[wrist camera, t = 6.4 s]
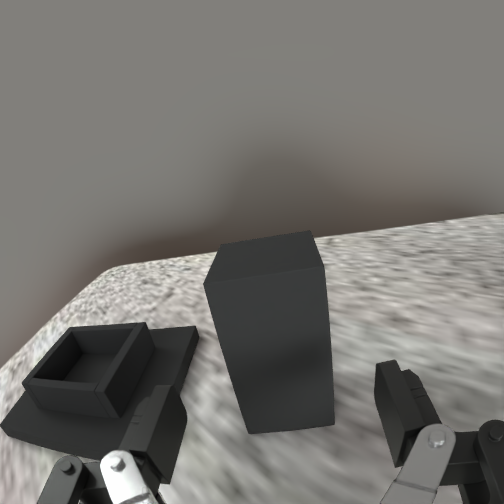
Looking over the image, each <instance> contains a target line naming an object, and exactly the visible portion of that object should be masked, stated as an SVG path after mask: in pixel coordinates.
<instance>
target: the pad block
mask: <svg viewBox="0 0 504 504" xmlns="http://www.w3.org/2000/svg"><path fill="white" fill-rule="evenodd" d="M203 285H204V289H205V293H206V296H207V300H208V304H209V307H210V311H211V314H212V318H213V321H214V325H215V328H216V332H217V335H218V339H219V342H220V346H221V349H222V352H223V356H224V359H225V362H226V366H227V369H228V372H229V375H230V379H231V382H232V385H233V388H234V391H235V394H236V398H237V401H238V404H239V407H240V410H241V413H242V416H243V419H244V422H245V425H246V428H247V431H248V434H255V433H269V432H280V431H290V430H299V429H307V428H314V427H321V426H328V425H334V424H335V420H334V390H333V369H332V352H331V337H330V323H329V311H328V300H327V289H326V278H325V269H324V265H323V262H322V259H321V257H320V254H319V251H318V249H317V246H316V244H315V241H314V238H313V236H312V233H311V231H304V232H297V233H291V234H284V235H278V236H272V237H265V238H259V239H252V240H246V241H240V242H233V243H228V244H222V245H221V246H220V248H219V250H218V252H217V254H216V256H215V259H214V261H213V263H212V265H211V267H210V270H209V272H208V274H207V276H206V279H205V281H204V283H203Z"/></svg>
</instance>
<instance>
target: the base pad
mask: <svg viewBox="0 0 504 504" xmlns="http://www.w3.org/2000/svg"><path fill="white" fill-rule="evenodd" d="M198 338H199V335H198V331H197V328H196V326H187V327H176V328H164V329H151V330H148V327H147V324H146V322H141V323H126V324H112V325H97V326H80V327H69V328H68V329H67V331H66V332H65V333H64V334H63V335H62V336H61V337H60V338H59V339H58V341H57V342H56V343H55V344H54V345H53V346H52V347H51V349H50V350H49V351H48V352H47V353H46V354H45V356H44V357H43V358H42V359H41V360H40V361H39V363H38V364H37V365H36V366H35V367H34V368H33V370H32V371H31V372H30V373H29V374H28V376H27V377H26V378H25V379H24V380H23V382H22V385H23V387H24V388H25V390H26V391H25V392H24V393H23V395H22V396H21V397H20V399H19V400H18V401H17V403H16V404H15V405H14V407H13V408H12V409H11V411H10V412H9V413H8V415H7V416H6V417H5V419H4V420H3V421H2V423H1V424H0V427H1V428H2V429H3V430H4V432H5V433H6V434H7V435H8V436H10V437H13V438H16V439H19V440H22V441H25V442H28V443H32V444H35V445H38V446H41V447H45V448H48V449H52V450H56V451H60V452H64V453H68V454H72V455H76V456H80V457H85V458H90V459H95V460H100V461H101V460H102V459H103V457H104V456H105V455H107V454H108V453H110V452H112V451H115V450H118V448H119V446H120V444H121V441H122V439H123V437H124V435H125V432H126V430H127V428H128V426H129V424H130V423H131V422H130V421H131V419H132V417H133V416H134V413H135V410H136V408H137V406H138V405H139V404H140V403H141V402H142V400H143V399H144V398H145V397H151V395H152V392H153V390H154V388H155V386H157V385H174V386H175V387H176V389H177V391H178V393H179V395H180V392H181V389H182V386H183V383H184V380H185V377H186V374H187V371H188V368H189V365H190V362H191V359H192V356H193V353H194V350H195V347H196V344H197V341H198Z"/></svg>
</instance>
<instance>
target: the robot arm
mask: <svg viewBox="0 0 504 504" xmlns="http://www.w3.org/2000/svg"><path fill="white" fill-rule="evenodd" d="M374 397H375V403H376V407H377V410H378V413H379V416H380V419H381V422H382V426H383V429H384V432H385V435H386V439H387V442H388V445H389V449H390V452H391V455H392V459H393V462H394V466H395V468H396V467H400V466H403V467H402V469H401V471H400V473H399V475H398V476H397V478H396V480H394V481H393V482H392V484H391V486H390V487H389V489H388V491H387V492H386V494H385V496H384V497H383V499H382V501H381V502H380V504H432V503H433V501H434V498H435V496H436V494H437V489H438V487H439V486H445V485H458V487H459V490H460V494H461V497H462V501H463V504H504V422H503V421H500V420H491V421H488V422H486V423H484V424H483V425H482V426H481V427H480V429H479V431H473V432H455V431H453V430H452V429H451V428H450V427H448V426H446V425H443V424H442V423H441V421H440V419H439V417H438V415H437V413H436V411H435V408H434V406H433V404H432V402H431V400H430V398H429V396H428V395H427V392H426V390H425V388H423V385H422V383H421V381H420V379H419V377H418V376H417V375H416V374H415V373H413V372H412V371H411V370H409V369H408V370H404V371H401V370H400V368H399V365H398V363H397V361H396V360H391V361H386V362H381V363H377V364H376V373H375V387H374ZM130 422H131V423H130V424H129V426H128V428H127V430H126V432H125V435H124V437H123V439H122V441H121V444H120V446H119V448H118V450H115V451H112V452H110V453H108V454H107V455H105V456H104V457H103V459H102V460H101V461H100V462H91V463H83V462H82V461H81V460H80V459H79V458H78V457H76V456H73V455H68V456H64V457H62V458H60V459H59V460H58V461H57V462H56V464H55V465H54V467H53V469H52V472H51V474H50V476H49V478H48V480H47V482H46V484H45V487H44V489H43V491H42V493H41V495H40V498H39V500H38V502H37V504H78V502H79V500H80V502H79V504H166V502H165V500H164V499H163V497H162V495H161V493H160V492H159V490H158V489H159V485H160V483H161V484H170V482H171V478H172V475H173V471H174V468H175V464H176V460H177V457H178V453H179V449H180V446H181V442H182V439H183V435H184V432H185V428H186V424H187V412H186V409H185V407H184V405H183V402H182V400H181V398H180V395H179V393H178V391H177V389H176V387H175V386H174V385H157V386H155V388H154V390H153V392H152V395H151V397H145V398H144V399H143V400H142V402H141V403H140V404H139V405H138V406H137V408H136V410H135V413H134V416H133V417H132V419H131V421H130Z"/></svg>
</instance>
